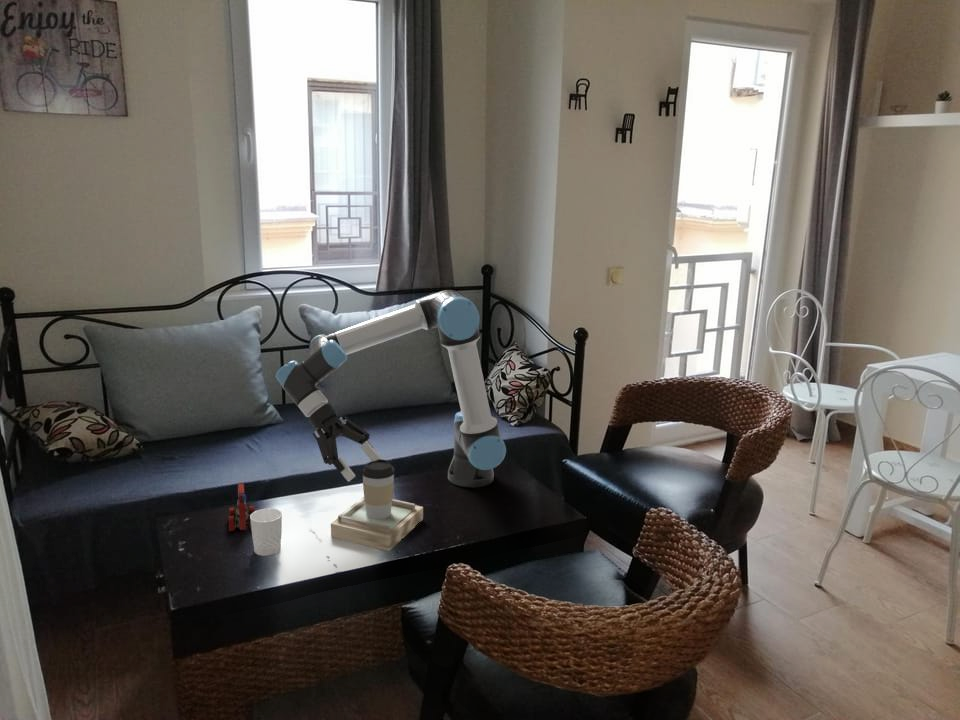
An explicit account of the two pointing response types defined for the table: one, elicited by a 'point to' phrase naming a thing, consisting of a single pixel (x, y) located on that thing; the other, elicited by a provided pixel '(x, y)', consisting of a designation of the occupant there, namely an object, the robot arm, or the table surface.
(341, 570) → the table surface
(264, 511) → the white cup
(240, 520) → the toy fire truck
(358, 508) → the tray
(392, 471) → the coffee cup
